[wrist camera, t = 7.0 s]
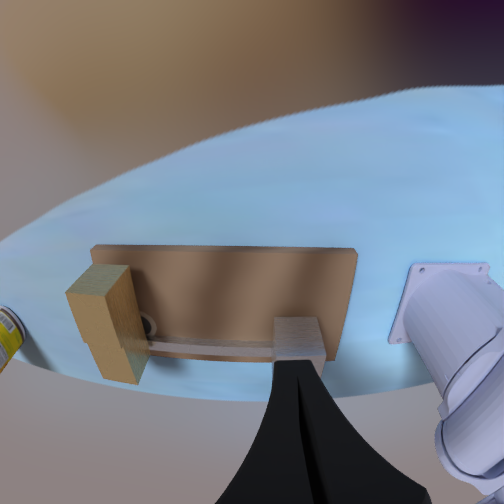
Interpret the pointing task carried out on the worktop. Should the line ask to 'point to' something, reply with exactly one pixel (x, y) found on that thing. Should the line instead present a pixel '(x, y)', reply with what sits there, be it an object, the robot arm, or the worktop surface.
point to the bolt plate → (235, 291)
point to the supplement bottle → (9, 335)
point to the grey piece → (257, 343)
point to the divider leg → (110, 321)
